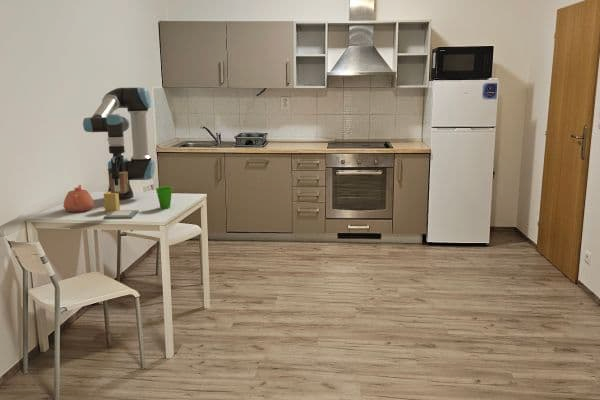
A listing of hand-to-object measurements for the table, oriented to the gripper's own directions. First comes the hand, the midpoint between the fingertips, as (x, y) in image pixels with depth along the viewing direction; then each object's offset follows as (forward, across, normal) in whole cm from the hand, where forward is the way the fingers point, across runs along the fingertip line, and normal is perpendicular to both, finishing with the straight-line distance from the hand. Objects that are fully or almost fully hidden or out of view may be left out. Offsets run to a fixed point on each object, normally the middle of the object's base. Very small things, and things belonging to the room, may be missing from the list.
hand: (119, 189), depth 281 cm
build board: (+14, 0, 0) cm, 14 cm away
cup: (+14, -17, +19) cm, 29 cm away
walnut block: (+1, 0, 0) cm, 1 cm away
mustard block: (+14, -11, -8) cm, 19 cm away
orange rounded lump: (+14, -15, -27) cm, 34 cm away
